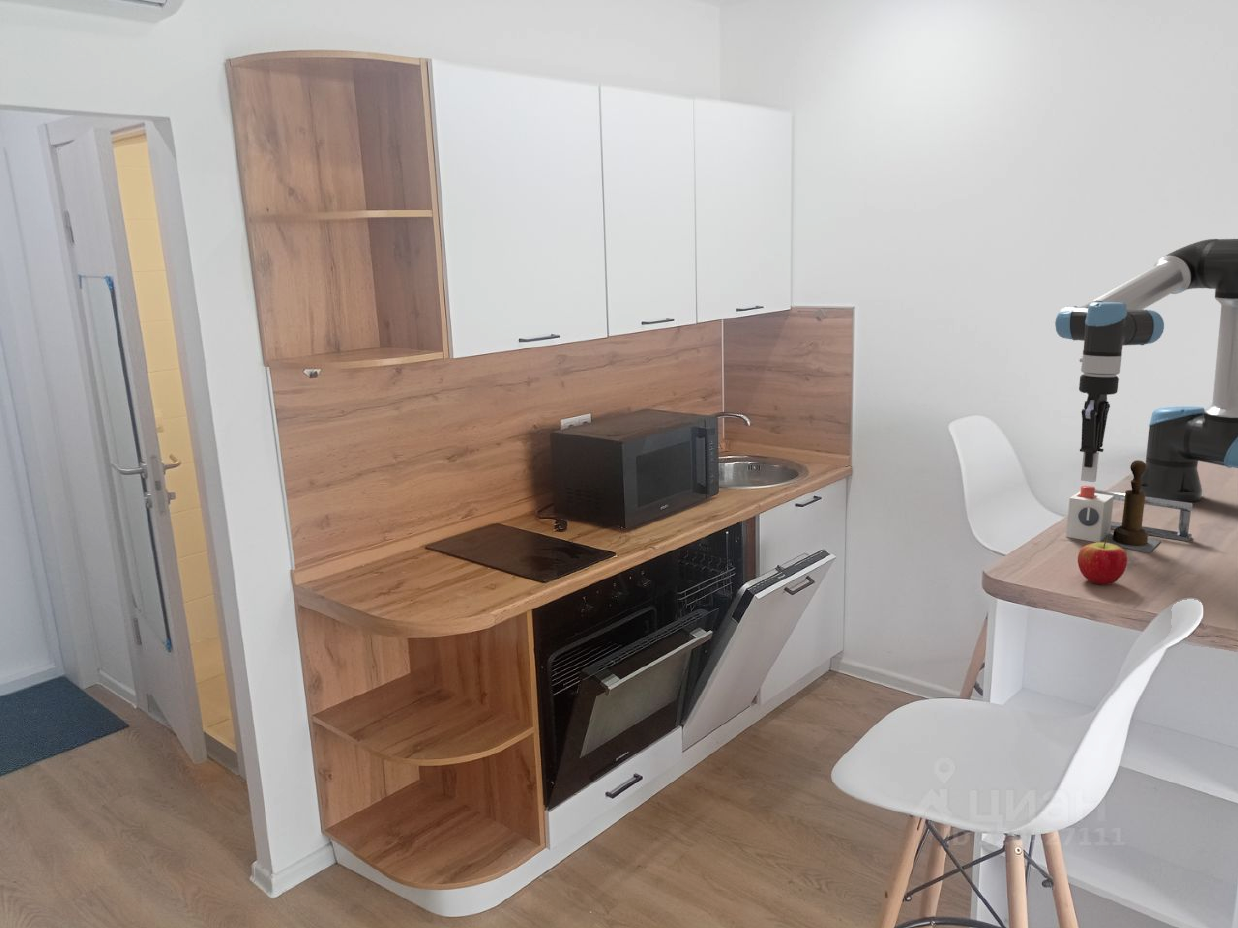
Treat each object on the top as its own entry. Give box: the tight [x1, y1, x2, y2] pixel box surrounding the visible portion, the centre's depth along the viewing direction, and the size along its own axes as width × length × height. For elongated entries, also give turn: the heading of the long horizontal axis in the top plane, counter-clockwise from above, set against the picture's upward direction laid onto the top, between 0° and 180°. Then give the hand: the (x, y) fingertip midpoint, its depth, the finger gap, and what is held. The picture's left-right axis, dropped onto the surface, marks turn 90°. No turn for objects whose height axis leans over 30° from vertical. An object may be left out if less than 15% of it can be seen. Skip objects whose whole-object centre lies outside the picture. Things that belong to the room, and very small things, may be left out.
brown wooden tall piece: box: [1113, 459, 1149, 546], centre depth 205 cm, size 7×6×18 cm
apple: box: [1077, 535, 1128, 586], centre depth 182 cm, size 8×8×10 cm
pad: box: [1100, 531, 1162, 554], centre depth 207 cm, size 10×10×1 cm
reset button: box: [1079, 485, 1096, 499], centre depth 212 cm, size 3×3×4 cm
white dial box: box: [1065, 490, 1115, 543], centre depth 212 cm, size 9×7×9 cm
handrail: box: [1095, 488, 1193, 542], centre depth 215 cm, size 4×21×8 cm, turn 49°
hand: (1088, 480), depth 211 cm, fingers closed
